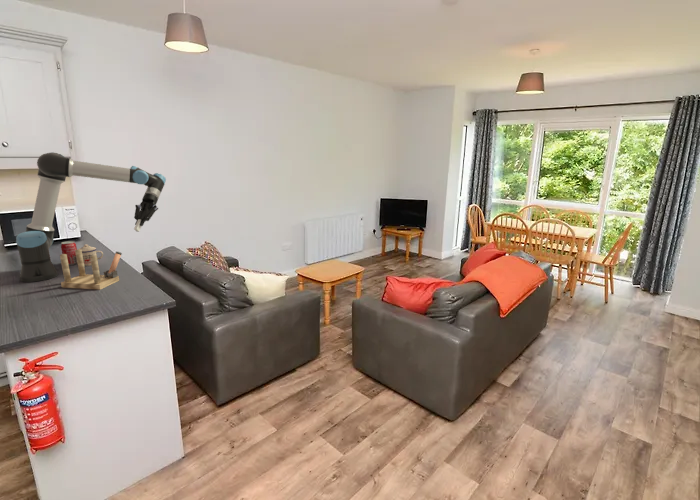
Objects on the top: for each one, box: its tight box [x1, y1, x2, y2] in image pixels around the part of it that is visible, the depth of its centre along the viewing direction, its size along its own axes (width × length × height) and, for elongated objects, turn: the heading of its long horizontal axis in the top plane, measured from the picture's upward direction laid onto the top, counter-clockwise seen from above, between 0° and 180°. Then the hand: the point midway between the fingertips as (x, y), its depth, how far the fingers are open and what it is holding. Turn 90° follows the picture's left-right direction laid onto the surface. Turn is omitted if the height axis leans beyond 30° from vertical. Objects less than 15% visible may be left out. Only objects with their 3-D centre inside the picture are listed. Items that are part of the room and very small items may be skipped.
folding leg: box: [106, 251, 123, 277], centre depth 190 cm, size 3×3×13 cm
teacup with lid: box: [79, 243, 104, 267], centre depth 216 cm, size 12×9×12 cm
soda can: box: [60, 240, 78, 266], centre depth 214 cm, size 7×7×13 cm
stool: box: [59, 248, 120, 290], centre depth 183 cm, size 20×13×16 cm, turn 85°
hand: (136, 230), depth 206 cm, fingers closed
